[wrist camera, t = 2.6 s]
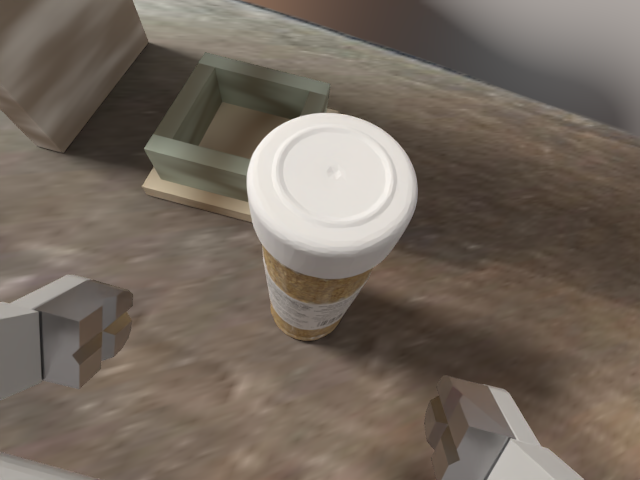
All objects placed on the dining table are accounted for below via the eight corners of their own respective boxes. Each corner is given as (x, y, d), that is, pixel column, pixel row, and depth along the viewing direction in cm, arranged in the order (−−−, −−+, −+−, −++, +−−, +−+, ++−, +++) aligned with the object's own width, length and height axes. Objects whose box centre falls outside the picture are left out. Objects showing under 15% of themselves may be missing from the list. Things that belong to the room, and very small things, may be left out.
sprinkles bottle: (326, 260, 22) (375, 91, 10) (355, 326, 20) (457, 217, 8) (259, 284, 21) (221, 126, 9) (284, 355, 19) (280, 281, 7)
